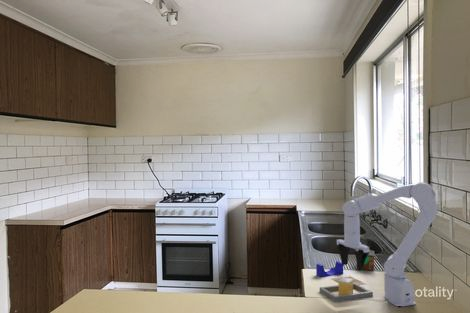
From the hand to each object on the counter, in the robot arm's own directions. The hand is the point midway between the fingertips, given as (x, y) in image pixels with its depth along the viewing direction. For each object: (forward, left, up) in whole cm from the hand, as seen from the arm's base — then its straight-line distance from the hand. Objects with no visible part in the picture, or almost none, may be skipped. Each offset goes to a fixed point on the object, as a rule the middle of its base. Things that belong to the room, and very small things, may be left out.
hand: (352, 267), depth 130 cm
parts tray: (-3, +6, -9) cm, 11 cm away
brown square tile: (+8, -4, -9) cm, 13 cm away
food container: (+22, -23, -10) cm, 34 cm away
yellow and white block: (-3, +6, -9) cm, 11 cm away
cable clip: (+18, -2, -10) cm, 21 cm away
